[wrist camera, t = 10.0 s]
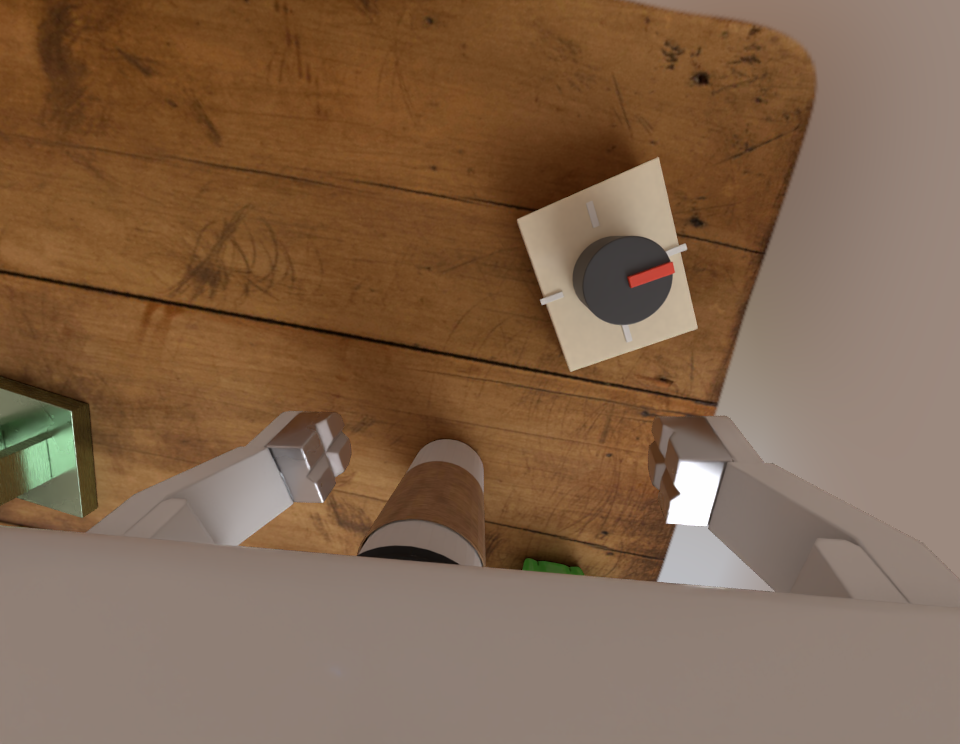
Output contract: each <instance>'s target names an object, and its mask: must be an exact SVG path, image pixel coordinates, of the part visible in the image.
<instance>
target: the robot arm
mask: <svg viewBox="0 0 960 744" xmlns="http://www.w3.org/2000/svg"><path fill="white" fill-rule="evenodd" d="M343 427H344V422H343V420H342V417H341V415H340V414H338V413H336V412H311V411H304V412H303V411H287V412H283V413H282V414H280V415H279V416H278V417H277V418H276V419H275V420H274V421H273V422H272V423H271V424H269V425H268V426H267V427H266V428H265V429H264V430H263V431H262V432H261V433H260V434H258V435H257V436H256V437H255V438H254V439H253V440H252V441H251V442H250V443H249V444H247V445H246V446H245V447H238V448H236V449H234V450H231V451H229V452H227V453H225V454H222V455H220V456H218V457H216V458H214V459H211V460H209V461H207V462H205V463H203V464H200V465H198V466H196V467H194V468H191V469H189V470H187V471H185V472H183V473H180V474H178V475H176V476H174V477H172V478H169V479H167V480H165V481H163V482H160V483H158V484H156V485H154V486H152V487H149V488H147V489H145V490H143V491H141V492H138V493H136V494H134V495H133V496H132V497H130V498H129V499H128V500H126V501H125V502H124V503H123V504H121V505H120V506H119V507H118V508H116V509H115V510H114V511H113V512H111V513H110V514H109V515H107V516H106V517H105V518H104V519H102V520H101V521H100V522H99V523H97V524H96V525H95V526H93V527H92V528H91V529H90V530H88V531H87V532H86V533H81V532H70V531H58V530H46V529H35V528H23V527H11V526H0V744H960V579H959V578H958V577H957V576H956V575H955V574H954V573H953V572H952V571H951V570H950V569H949V568H948V567H947V566H946V565H945V564H944V563H943V562H942V561H941V560H940V559H939V558H938V557H937V556H936V555H935V554H934V553H933V552H932V551H931V550H929V548H928V547H927V546H926V545H924V544H923V543H922V542H920V541H918V540H916V539H915V538H913V537H911V536H909V535H907V534H905V533H903V532H901V531H899V530H897V529H896V528H894V527H892V526H890V525H888V524H886V523H884V522H882V521H881V520H879V519H877V518H875V517H873V516H871V515H869V514H867V513H865V512H864V511H862V510H860V509H858V508H856V507H854V506H852V505H850V504H848V503H847V502H845V501H843V500H841V499H839V498H837V497H835V496H833V495H832V494H830V493H828V492H826V491H824V490H822V489H820V488H818V487H816V486H814V485H813V484H810V483H809V482H807V481H805V480H803V479H801V478H799V477H798V476H796V475H794V474H792V473H790V472H788V471H786V470H784V469H782V468H781V467H779V466H777V465H775V464H773V463H764V462H763V460H762V459H761V458H760V456H759V455H758V454H757V453H756V451H755V450H754V449H753V447H752V446H751V445H750V443H749V442H748V441H747V440H746V438H745V437H744V436H743V434H742V433H741V432H740V430H739V429H738V428H737V427H736V425H735V424H734V423H733V421H732V420H731V419H730V418H728V417H727V416H701V417H655V418H654V421H653V425H652V430H651V431H652V434H653V436H654V439H655V441H654V442H653V443H652V444H651V445H649V451H648V470H649V475H650V479H651V482H652V485H653V486H655V487H656V488H657V489H658V490H659V495H658V502H659V505H660V508H661V510H662V513H663V516H664V519H665V522H666V523H669V524H681V525H694V526H705V527H708V529H709V530H710V531H711V532H712V533H713V534H714V535H715V536H717V537H718V538H719V539H720V540H721V541H722V542H723V543H724V544H725V545H726V546H727V547H728V548H729V549H730V550H732V551H733V552H734V553H735V554H736V555H737V556H738V557H739V558H740V559H741V560H742V561H743V562H744V563H746V565H748V566H749V567H750V568H751V569H752V570H753V571H754V572H755V573H756V574H757V575H758V576H759V577H760V578H761V579H763V580H764V581H765V582H766V583H767V584H768V585H769V586H770V587H771V588H772V589H773V590H774V591H775V592H770V591H757V590H747V589H734V588H723V587H711V586H699V585H687V584H676V583H664V582H652V581H640V580H629V579H617V578H606V577H594V576H583V575H571V574H560V573H548V572H537V571H525V570H513V569H502V568H490V567H479V566H467V565H455V564H444V563H432V562H420V561H408V560H397V559H385V558H373V557H361V556H350V555H338V554H326V553H315V552H303V551H291V550H280V549H268V548H256V547H245V546H237V545H239V544H240V543H241V542H243V541H244V540H245V539H247V538H248V537H250V536H251V535H252V534H254V533H255V532H256V531H258V530H259V529H260V528H262V527H263V526H264V525H266V524H267V523H268V522H270V521H271V520H272V519H274V518H275V517H276V516H278V515H279V514H280V513H282V512H283V511H284V510H286V509H287V508H288V507H290V506H291V505H292V504H293V502H311V503H323V502H324V501H325V499H326V498H327V496H328V495H329V493H330V492H331V490H332V489H333V487H334V486H335V484H336V482H335V477H336V476H338V475H340V474H341V473H343V472H344V471H345V469H346V468H347V466H348V464H349V461H350V457H351V444H350V441H349V438H348V437H347V436H346V435H345V434H344V433H343V432H342V430H343Z"/></svg>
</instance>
